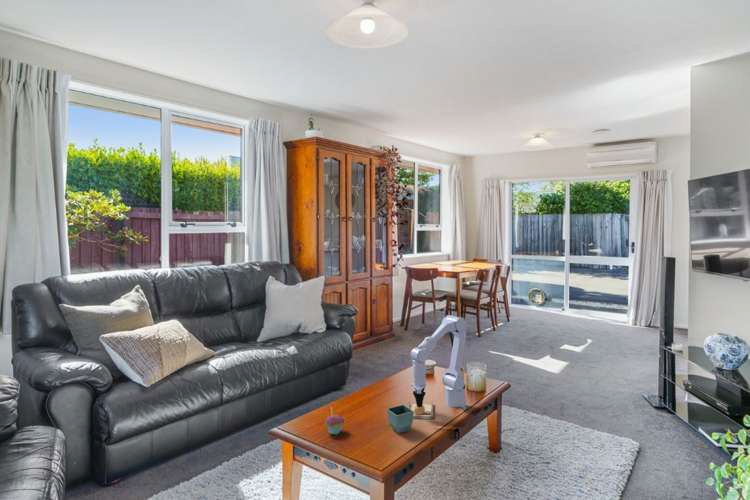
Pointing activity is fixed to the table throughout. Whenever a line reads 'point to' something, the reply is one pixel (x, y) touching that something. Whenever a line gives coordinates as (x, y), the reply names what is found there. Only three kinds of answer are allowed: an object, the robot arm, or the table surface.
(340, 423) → the cupcake
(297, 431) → the table surface
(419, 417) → the rails
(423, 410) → the ball
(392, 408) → the flower pot
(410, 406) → the lane
